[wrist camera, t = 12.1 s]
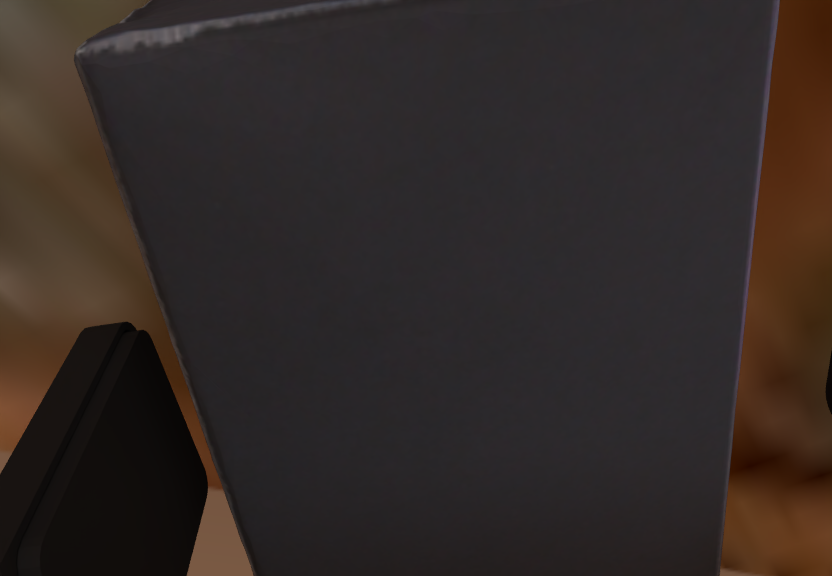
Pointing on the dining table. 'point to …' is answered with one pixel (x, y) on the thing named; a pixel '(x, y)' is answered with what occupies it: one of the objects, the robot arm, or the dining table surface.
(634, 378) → the small box
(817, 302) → the dining table surface
